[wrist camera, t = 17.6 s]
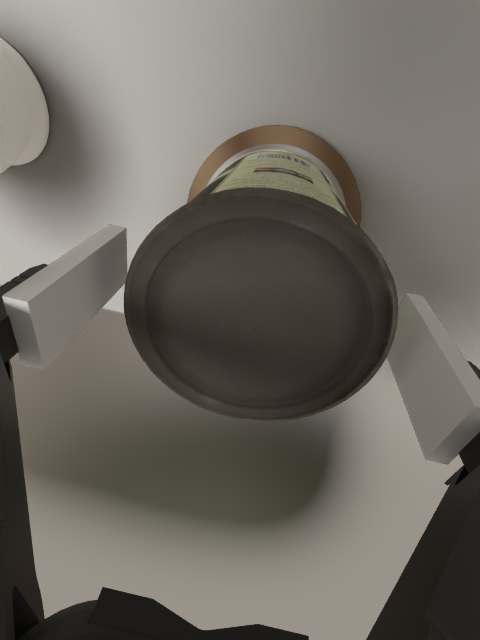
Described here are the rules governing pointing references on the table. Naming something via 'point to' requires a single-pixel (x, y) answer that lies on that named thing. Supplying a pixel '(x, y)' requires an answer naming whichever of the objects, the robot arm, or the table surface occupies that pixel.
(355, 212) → the thin brown ring
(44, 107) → the jar
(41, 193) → the table surface
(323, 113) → the table surface
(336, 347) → the coffee can
